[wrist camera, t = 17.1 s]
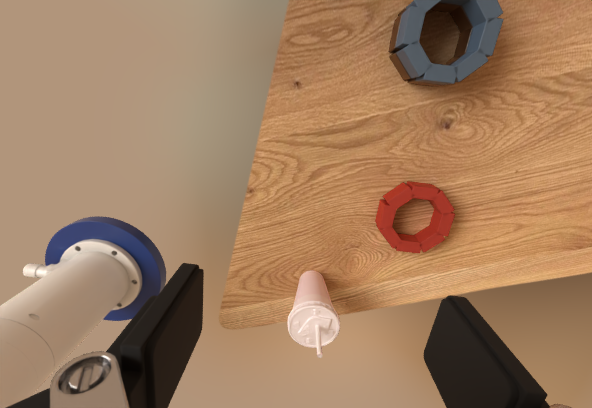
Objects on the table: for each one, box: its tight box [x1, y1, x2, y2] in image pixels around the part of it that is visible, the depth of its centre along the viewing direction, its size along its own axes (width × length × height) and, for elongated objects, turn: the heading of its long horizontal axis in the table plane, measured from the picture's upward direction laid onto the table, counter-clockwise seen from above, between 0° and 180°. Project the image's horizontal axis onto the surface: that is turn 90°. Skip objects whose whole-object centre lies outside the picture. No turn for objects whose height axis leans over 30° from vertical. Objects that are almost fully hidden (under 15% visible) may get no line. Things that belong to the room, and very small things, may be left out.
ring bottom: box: [389, 2, 473, 86], centre depth 32 cm, size 9×9×2 cm
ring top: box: [375, 181, 455, 253], centre depth 39 cm, size 9×9×2 cm
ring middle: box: [395, 0, 503, 85], centre depth 29 cm, size 9×9×2 cm
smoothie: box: [288, 271, 340, 358], centre depth 37 cm, size 6×6×14 cm
